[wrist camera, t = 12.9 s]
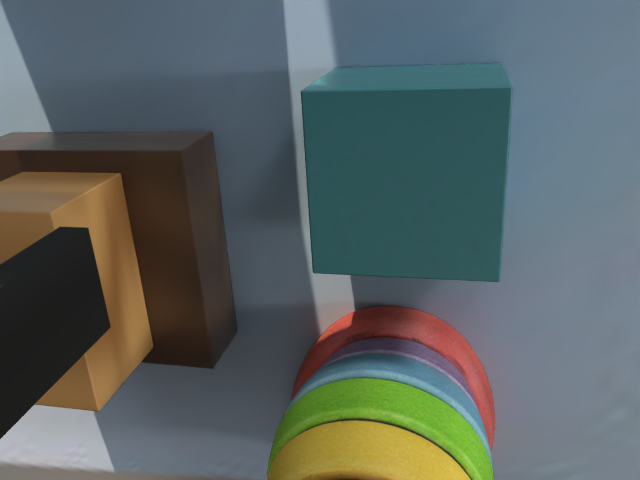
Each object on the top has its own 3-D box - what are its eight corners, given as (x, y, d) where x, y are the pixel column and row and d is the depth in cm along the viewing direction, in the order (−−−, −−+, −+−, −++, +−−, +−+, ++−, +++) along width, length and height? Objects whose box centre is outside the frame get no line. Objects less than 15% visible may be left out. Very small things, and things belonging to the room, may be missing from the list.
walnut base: (12, 132, 31) (-39, 149, 28) (212, 131, 28) (181, 150, 25) (59, 318, 35) (19, 352, 32) (237, 331, 33) (213, 369, 30)
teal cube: (334, 67, 26) (300, 90, 21) (502, 62, 24) (513, 86, 19) (340, 218, 29) (312, 273, 23) (493, 222, 27) (499, 282, 22)
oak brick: (22, 171, 27) (-64, 208, 23) (121, 172, 26) (50, 211, 22) (65, 339, 31) (-3, 401, 26) (154, 347, 30) (99, 412, 25)
